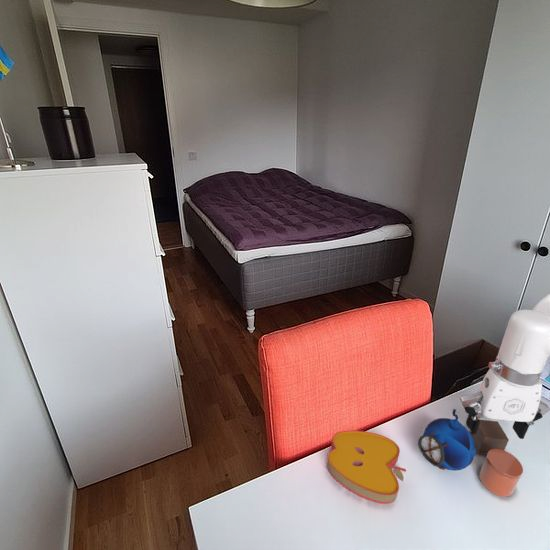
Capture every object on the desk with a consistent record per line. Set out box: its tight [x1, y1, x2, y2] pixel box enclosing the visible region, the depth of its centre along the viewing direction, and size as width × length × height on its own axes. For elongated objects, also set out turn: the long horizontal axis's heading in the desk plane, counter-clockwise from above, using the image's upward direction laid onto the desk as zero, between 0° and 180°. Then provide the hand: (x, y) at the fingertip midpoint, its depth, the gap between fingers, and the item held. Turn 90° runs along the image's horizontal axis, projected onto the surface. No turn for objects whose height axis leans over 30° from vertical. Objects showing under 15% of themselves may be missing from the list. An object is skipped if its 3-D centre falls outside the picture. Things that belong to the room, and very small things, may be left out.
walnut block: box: [469, 418, 510, 455], centre depth 76 cm, size 5×5×5 cm
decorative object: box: [326, 429, 407, 505], centre depth 70 cm, size 14×4×15 cm
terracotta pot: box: [478, 449, 524, 498], centre depth 68 cm, size 6×6×6 cm
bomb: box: [417, 408, 477, 471], centre depth 70 cm, size 10×11×15 cm
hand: (494, 431), depth 75 cm, fingers open, 9 cm apart
